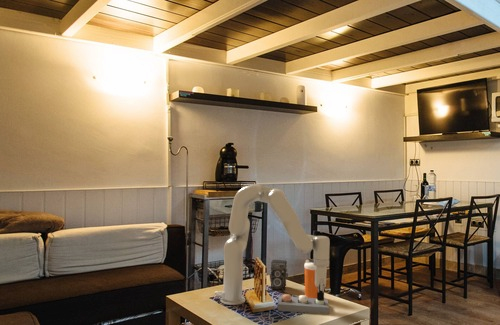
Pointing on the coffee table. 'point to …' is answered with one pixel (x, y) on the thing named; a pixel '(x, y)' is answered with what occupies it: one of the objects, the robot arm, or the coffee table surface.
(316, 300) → the button sage
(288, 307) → the panel
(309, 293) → the shaker bottle
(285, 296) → the button rust
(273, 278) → the camera
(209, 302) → the coffee table surface
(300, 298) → the button cream
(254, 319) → the coffee table surface
